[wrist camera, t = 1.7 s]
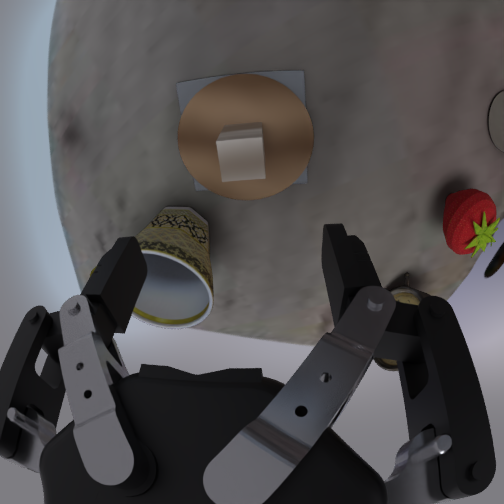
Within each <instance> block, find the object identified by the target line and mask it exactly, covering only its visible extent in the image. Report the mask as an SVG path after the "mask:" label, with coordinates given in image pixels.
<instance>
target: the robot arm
mask: <svg viewBox="0 0 504 504" xmlns="http://www.w3.org/2000/svg"><path fill="white" fill-rule="evenodd" d="M322 269H323V273H324V278H325V282H326V287H327V292H328V296H329V301H330V306H331V311H332V316H333V321H334V326H335V328H334V329H333V331H332V332H331V333H328V332H327V333H325V334H324V335H323V336H322V338H321V339H320V340H319V342H318V343H317V344H316V346H315V347H314V349H313V350H312V351H311V353H310V354H309V356H308V357H307V358H306V359H305V360H304V362H303V363H302V364H301V366H300V367H299V368H298V370H297V371H296V372H295V373H294V375H293V376H292V377H291V378H290V380H289V381H288V382H287V383H286V385H285V384H283V383H281V382H279V381H277V380H274V379H271V378H267V377H263V374H262V369H261V368H245V369H243V368H241V369H240V368H237V369H236V368H235V369H234V368H229V369H225V370H220V371H215V372H210V373H205V374H201V375H195V374H191V373H188V372H184V371H181V370H178V369H175V368H172V367H169V366H158V365H147V364H141V368H140V372H139V373H135V374H132V375H129V373H128V371H127V369H126V367H125V364H124V362H123V360H122V357H121V354H120V352H119V349H118V347H117V344H116V342H115V340H114V339H113V335H114V333H125V331H126V328H127V325H128V323H129V320H130V318H131V315H132V312H133V310H134V307H135V304H136V302H137V299H138V297H139V294H140V292H141V289H142V287H143V284H144V282H145V280H146V277H147V271H148V270H147V263H146V261H145V258H144V256H143V253H142V251H141V248H140V245H139V243H138V240H137V238H136V237H134V236H133V237H122V238H118V239H117V241H116V242H115V244H114V246H113V247H112V249H110V250H109V251H108V252H107V253H106V254H105V255H104V256H103V257H102V258H101V260H100V261H99V263H98V265H97V267H96V268H95V270H94V271H93V272H94V273H92V275H91V276H90V278H89V280H88V282H87V284H86V285H85V287H84V289H83V291H82V293H81V294H80V295H76V296H73V297H71V298H69V299H68V300H67V301H66V302H65V303H64V304H63V305H62V307H61V309H60V311H57V312H53V313H50V314H49V313H48V312H47V310H46V309H45V308H44V307H43V306H36V307H34V308H32V309H31V310H30V311H29V312H28V313H27V314H26V315H25V317H24V319H23V321H22V323H21V325H20V327H19V329H18V331H17V333H16V335H15V337H14V339H13V342H12V344H11V346H10V348H9V350H8V353H7V355H6V358H5V360H4V362H3V365H2V367H1V370H0V456H1V457H3V458H4V459H6V460H8V461H10V462H12V463H14V464H16V465H19V466H21V467H23V468H27V469H30V470H32V471H34V472H37V473H40V476H41V480H42V485H43V492H44V503H45V504H434V503H440V502H445V501H450V500H455V499H459V498H464V497H468V496H472V495H475V494H478V493H480V492H482V491H483V490H485V489H486V488H487V487H488V485H489V484H490V483H491V481H492V479H493V477H494V474H495V470H496V460H495V453H494V447H493V440H492V435H491V429H490V424H489V419H488V415H487V410H486V406H485V402H484V398H483V395H482V391H481V387H480V383H479V380H478V377H477V373H476V370H475V367H474V364H473V361H472V358H471V355H470V352H469V349H468V346H467V344H466V341H465V338H464V336H463V333H462V330H461V328H460V325H459V323H458V320H457V318H456V316H455V313H454V311H453V309H452V307H451V305H450V304H449V303H448V302H447V301H446V300H444V299H443V298H440V297H437V296H427V297H425V298H423V299H422V300H421V301H420V303H419V305H414V304H408V303H402V302H399V301H396V300H395V298H394V296H393V295H392V293H390V292H389V291H388V290H387V289H385V288H382V286H381V283H380V281H379V278H378V276H377V273H376V271H375V268H374V266H373V263H372V261H371V259H370V256H369V254H368V253H367V249H366V247H365V245H364V243H363V242H362V241H361V240H360V239H359V238H358V237H357V236H356V235H351V236H347V233H346V231H345V228H344V226H343V224H324V227H323V242H322ZM41 348H42V349H43V350H44V351H45V352H46V353H47V354H48V356H47V359H46V362H45V364H44V367H43V370H42V373H41V375H40V376H38V374H37V373H36V371H35V362H36V359H37V357H38V355H39V352H40V350H41ZM374 357H376V358H382V359H389V360H395V361H397V366H398V371H399V376H400V381H401V386H402V391H403V397H404V404H405V410H406V417H407V424H408V432H409V441H408V442H406V443H405V444H404V445H402V447H401V448H400V449H399V451H398V452H397V455H396V461H395V467H394V470H393V472H392V474H391V475H390V476H389V478H388V479H387V480H385V481H383V479H382V478H381V477H380V475H379V474H378V473H377V472H376V471H375V470H374V469H373V468H372V467H371V466H370V465H368V463H366V462H365V461H364V460H363V459H362V458H361V457H360V456H359V455H358V454H357V453H356V452H355V451H354V450H353V449H352V448H350V446H349V445H347V444H346V442H344V441H343V440H342V439H341V438H340V437H339V436H338V435H337V434H336V433H335V432H334V431H333V430H332V429H331V428H332V427H333V425H334V424H335V422H336V421H337V419H338V418H339V416H340V415H341V413H342V412H343V410H344V408H345V407H346V405H347V404H348V402H349V400H350V398H351V397H352V395H353V393H354V392H355V390H356V388H357V387H358V385H359V383H360V381H361V380H362V378H363V376H364V375H365V373H366V371H367V369H368V367H369V366H370V364H371V362H372V360H373V358H374ZM65 391H66V392H67V396H68V400H69V404H70V408H71V411H72V415H73V418H74V420H73V421H72V422H70V423H69V424H68V425H67V426H66V427H65V428H63V429H62V430H61V431H60V432H59V433H58V434H57V435H56V426H57V421H58V417H59V413H60V409H61V406H62V402H63V398H64V395H65Z"/></svg>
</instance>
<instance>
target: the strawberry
mask: <svg viewBox="0 0 504 504" xmlns="http://www.w3.org/2000/svg"><path fill="white" fill-rule="evenodd" d="M499 220H500V218H498V219H497V220H496V206H495V204H494V202H493V200H492V199H491V197H490V196H489V195H488V194H487V193H484V192H482V191H479V190H477V189H467V190H461V191H458V192H456V193H452V194H449V195H448V196H447V198H446V202H445V209H444V216H443V232H444V235H445V239H446V242H447V245H448V247H449V248H450V249H452V250H453V251H454V252H455V253H456V254H459V255H461V254H469V253H472V252H473V254H472V256H471V258H472V257H473V256H474V255H475V253H476V252H477V251H478V250H479V249H480V248H482V250H483V251H485V247H486V243H488V242H491V246H492V242H496V241H495V240H494V238H493V237H492V236H491V235H492V234H493V233H494V232H495V231H497V229H498V228H496V229H494V228H495V226H496V225H497V223H498V222H499Z"/></svg>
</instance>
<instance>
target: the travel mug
mask: <svg viewBox="0 0 504 504" xmlns="http://www.w3.org/2000/svg"><path fill="white" fill-rule="evenodd" d="M489 131H490V135H491V138H492V141H493V143H494V144H495V146H496V147H497V148H498V149H499V150H501V151H502V152H504V91H502V92H501V93H499V94H498V95H497V96H496V97H495V99H494V101H493V103H492V105H491V108H490V113H489Z"/></svg>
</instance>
